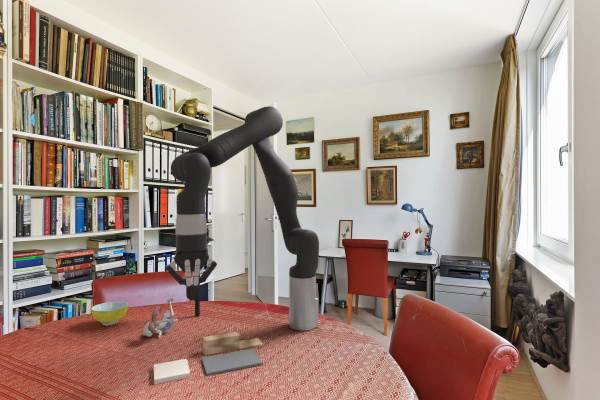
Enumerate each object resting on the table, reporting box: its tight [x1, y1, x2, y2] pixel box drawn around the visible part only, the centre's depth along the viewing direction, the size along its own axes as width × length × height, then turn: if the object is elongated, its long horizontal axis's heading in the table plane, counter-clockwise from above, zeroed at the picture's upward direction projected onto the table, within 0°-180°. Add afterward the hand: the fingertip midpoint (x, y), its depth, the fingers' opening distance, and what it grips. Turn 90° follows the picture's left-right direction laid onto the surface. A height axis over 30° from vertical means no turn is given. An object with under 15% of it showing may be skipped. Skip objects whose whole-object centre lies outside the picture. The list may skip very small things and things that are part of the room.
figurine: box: [142, 298, 178, 339], centre depth 107 cm, size 12×9×15 cm
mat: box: [201, 348, 263, 377], centre depth 89 cm, size 14×9×1 cm, turn 114°
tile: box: [153, 358, 191, 385], centre depth 83 cm, size 2×8×8 cm
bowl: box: [90, 301, 129, 327], centre depth 117 cm, size 11×12×6 cm
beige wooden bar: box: [202, 331, 264, 356], centre depth 98 cm, size 17×5×4 cm, turn 116°
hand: (192, 299), depth 85 cm, fingers closed
